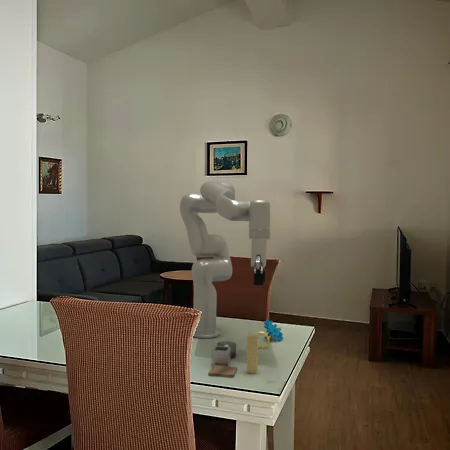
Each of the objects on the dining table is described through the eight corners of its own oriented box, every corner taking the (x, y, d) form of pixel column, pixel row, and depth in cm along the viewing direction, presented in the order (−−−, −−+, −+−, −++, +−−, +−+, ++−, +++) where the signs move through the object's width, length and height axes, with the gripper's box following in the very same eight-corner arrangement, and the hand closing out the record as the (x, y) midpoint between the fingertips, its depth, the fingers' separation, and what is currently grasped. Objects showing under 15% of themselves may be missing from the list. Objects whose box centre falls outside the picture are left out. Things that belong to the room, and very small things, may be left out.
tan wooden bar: (246, 372, 156) (247, 335, 156) (247, 369, 159) (248, 333, 159) (256, 373, 155) (257, 336, 155) (257, 370, 159) (258, 333, 158)
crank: (218, 351, 178) (218, 337, 178) (237, 352, 177) (237, 339, 177) (209, 365, 162) (209, 350, 162) (230, 366, 161) (230, 351, 161)
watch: (268, 347, 187) (270, 332, 186) (267, 349, 184) (269, 334, 184) (253, 345, 188) (254, 330, 188) (252, 347, 185) (253, 331, 185)
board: (208, 375, 153) (208, 373, 153) (213, 367, 161) (213, 365, 160) (233, 377, 151) (233, 375, 151) (237, 369, 159) (237, 367, 159)
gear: (275, 339, 191) (262, 319, 196) (265, 348, 193) (252, 328, 198) (289, 338, 199) (276, 318, 204) (279, 346, 202) (266, 327, 207)
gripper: (251, 234, 181) (251, 280, 181) (246, 235, 164) (246, 286, 164) (271, 234, 180) (271, 281, 180) (268, 235, 163) (269, 286, 163)
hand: (259, 283), depth 172 cm, fingers open, 9 cm apart
